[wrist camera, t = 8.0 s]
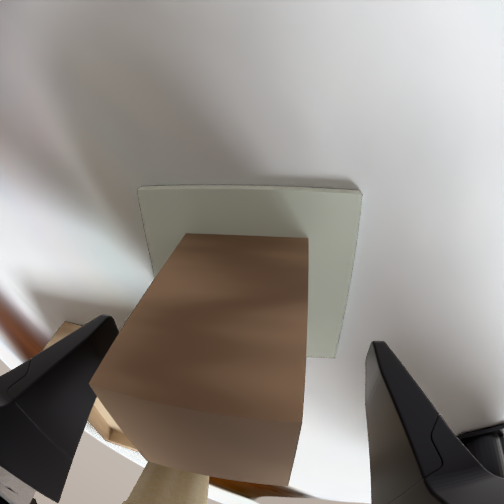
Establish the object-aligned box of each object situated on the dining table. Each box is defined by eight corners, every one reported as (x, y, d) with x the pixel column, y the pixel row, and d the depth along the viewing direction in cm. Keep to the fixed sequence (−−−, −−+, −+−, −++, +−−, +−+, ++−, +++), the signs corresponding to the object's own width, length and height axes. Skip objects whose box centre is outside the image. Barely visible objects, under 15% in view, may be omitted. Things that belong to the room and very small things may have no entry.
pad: (360, 190, 10) (362, 194, 10) (334, 351, 14) (334, 358, 14) (141, 186, 11) (137, 190, 11) (175, 337, 15) (172, 343, 15)
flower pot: (245, 475, 26) (230, 547, 19) (187, 478, 30) (170, 535, 23) (174, 438, 23) (146, 522, 16) (124, 443, 27) (98, 507, 20)
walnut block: (308, 237, 11) (302, 422, 5) (301, 330, 13) (287, 486, 7) (186, 233, 12) (88, 383, 6) (201, 322, 14) (147, 461, 8)
